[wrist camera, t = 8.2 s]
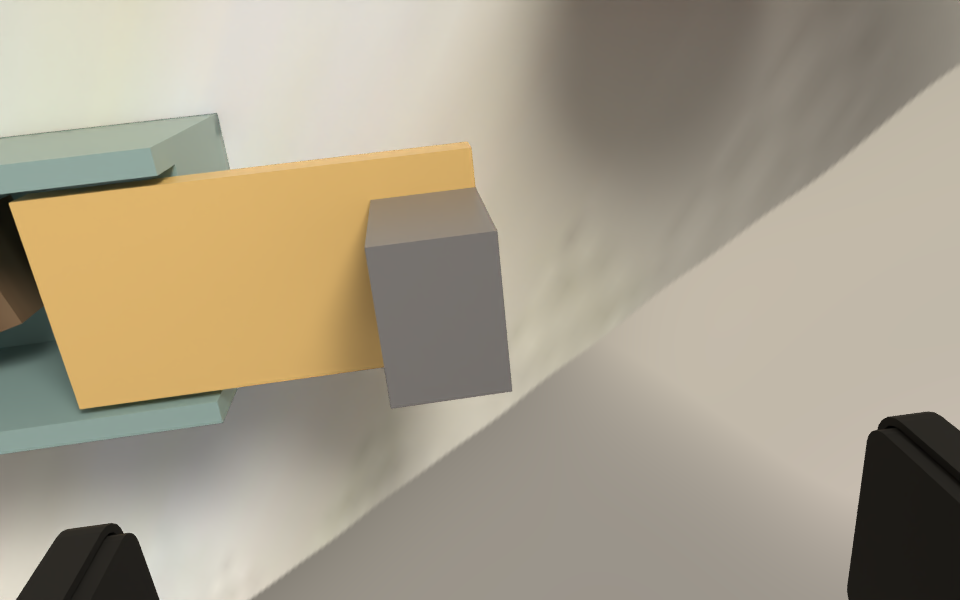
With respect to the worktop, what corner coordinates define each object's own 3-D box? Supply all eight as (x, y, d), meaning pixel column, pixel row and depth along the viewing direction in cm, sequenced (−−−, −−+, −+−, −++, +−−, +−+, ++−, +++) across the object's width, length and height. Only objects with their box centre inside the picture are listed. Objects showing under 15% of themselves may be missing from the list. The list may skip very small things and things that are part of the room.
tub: (217, 113, 28) (150, 148, 20) (265, 324, 32) (222, 422, 24) (-160, 155, 27) (-380, 209, 20) (-70, 368, 31) (-228, 486, 23)
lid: (467, 141, 23) (492, 181, 17) (488, 337, 25) (515, 430, 20) (28, 193, 22) (-103, 255, 16) (93, 391, 24) (1, 505, 19)
